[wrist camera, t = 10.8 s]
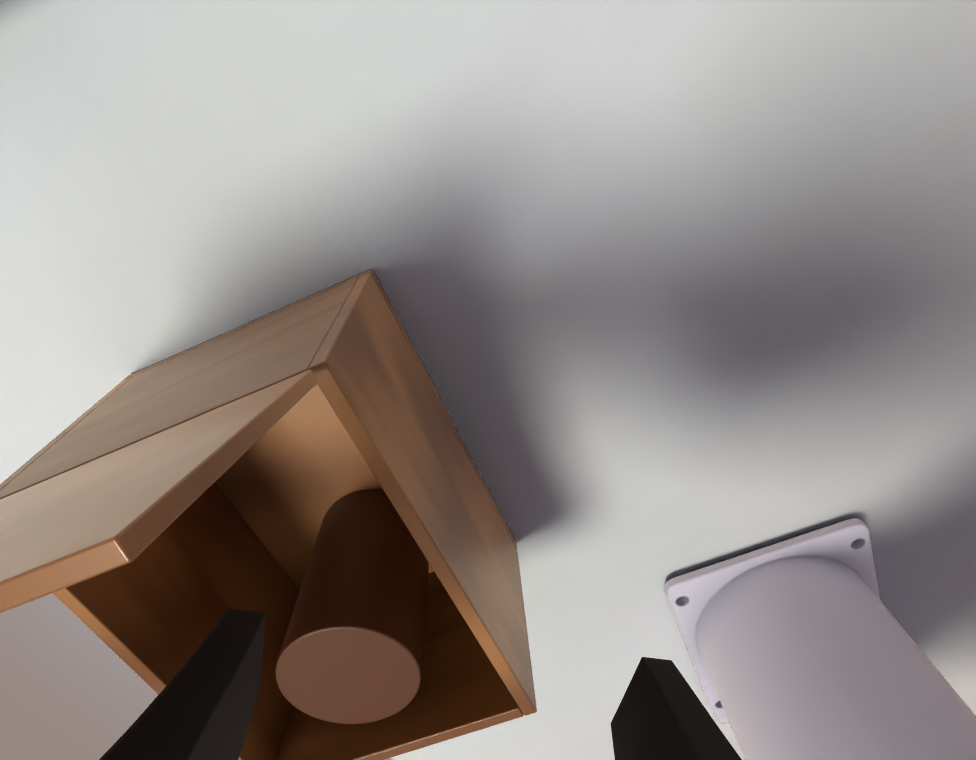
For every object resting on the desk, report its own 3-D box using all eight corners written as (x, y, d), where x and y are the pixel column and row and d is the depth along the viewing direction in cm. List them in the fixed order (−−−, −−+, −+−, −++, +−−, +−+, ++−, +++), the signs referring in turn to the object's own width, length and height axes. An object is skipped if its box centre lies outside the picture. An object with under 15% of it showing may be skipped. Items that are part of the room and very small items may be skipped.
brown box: (128, 375, 19) (-34, 512, 13) (372, 268, 18) (324, 361, 12) (315, 614, 24) (264, 797, 18) (516, 543, 23) (537, 712, 16)
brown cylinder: (448, 553, 22) (444, 700, 17) (354, 586, 23) (321, 739, 17) (400, 473, 21) (379, 608, 15) (300, 511, 21) (245, 655, 16)
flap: (-51, 536, 12) (-60, 524, 12) (318, 382, 11) (311, 368, 11) (-508, 811, 7) (-531, 792, 7) (132, 563, 5) (114, 537, 5)
